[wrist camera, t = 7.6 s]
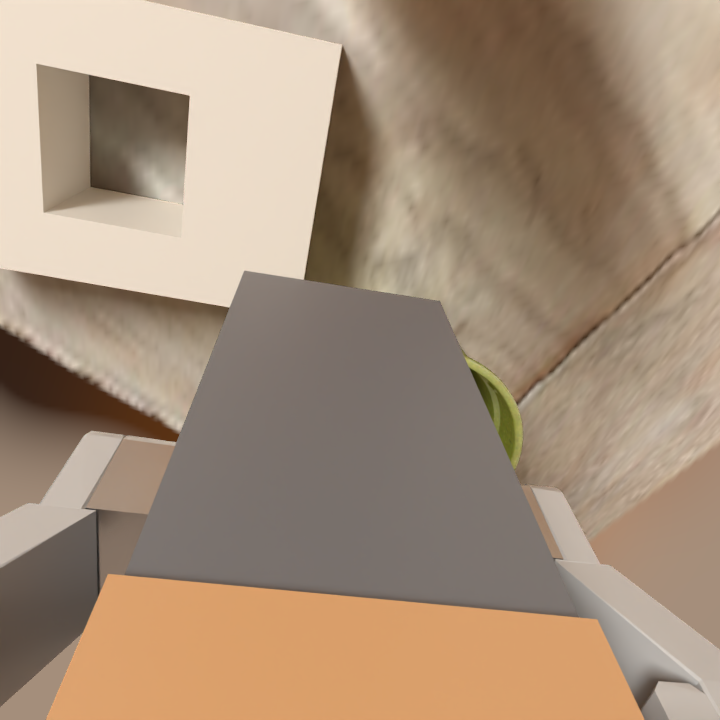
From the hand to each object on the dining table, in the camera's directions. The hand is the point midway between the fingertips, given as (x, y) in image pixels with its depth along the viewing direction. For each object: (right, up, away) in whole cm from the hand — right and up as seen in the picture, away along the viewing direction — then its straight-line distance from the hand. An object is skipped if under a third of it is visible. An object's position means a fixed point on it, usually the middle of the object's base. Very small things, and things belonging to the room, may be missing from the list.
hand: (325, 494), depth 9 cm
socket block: (-9, +12, +18) cm, 24 cm away
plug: (0, +2, +4) cm, 4 cm away
